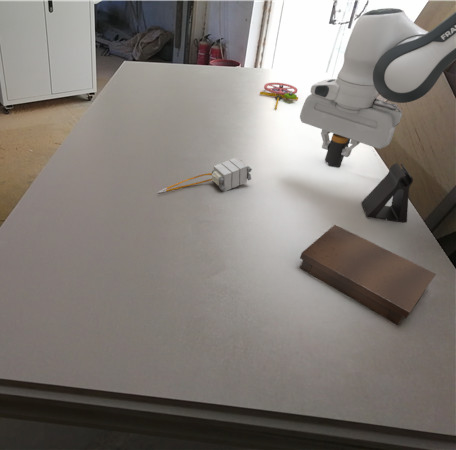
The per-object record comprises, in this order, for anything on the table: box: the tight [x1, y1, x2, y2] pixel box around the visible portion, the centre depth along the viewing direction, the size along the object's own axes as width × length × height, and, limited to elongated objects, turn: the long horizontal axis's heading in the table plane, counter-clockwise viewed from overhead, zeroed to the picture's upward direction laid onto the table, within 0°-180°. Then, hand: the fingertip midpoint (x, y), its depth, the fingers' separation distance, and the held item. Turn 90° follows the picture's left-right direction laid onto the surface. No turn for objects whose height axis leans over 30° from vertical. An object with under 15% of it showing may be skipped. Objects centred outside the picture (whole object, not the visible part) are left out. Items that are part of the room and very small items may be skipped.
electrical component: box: [157, 157, 253, 194], centre depth 101 cm, size 24×6×5 cm, turn 115°
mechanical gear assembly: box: [259, 82, 299, 110], centre depth 160 cm, size 30×4×15 cm
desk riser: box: [299, 224, 437, 325], centre depth 78 cm, size 20×14×4 cm
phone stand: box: [360, 162, 414, 223], centre depth 94 cm, size 9×6×12 cm, turn 80°
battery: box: [324, 133, 348, 165], centre depth 94 cm, size 3×3×7 cm
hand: (335, 151), depth 95 cm, fingers closed on battery, 3 cm apart
